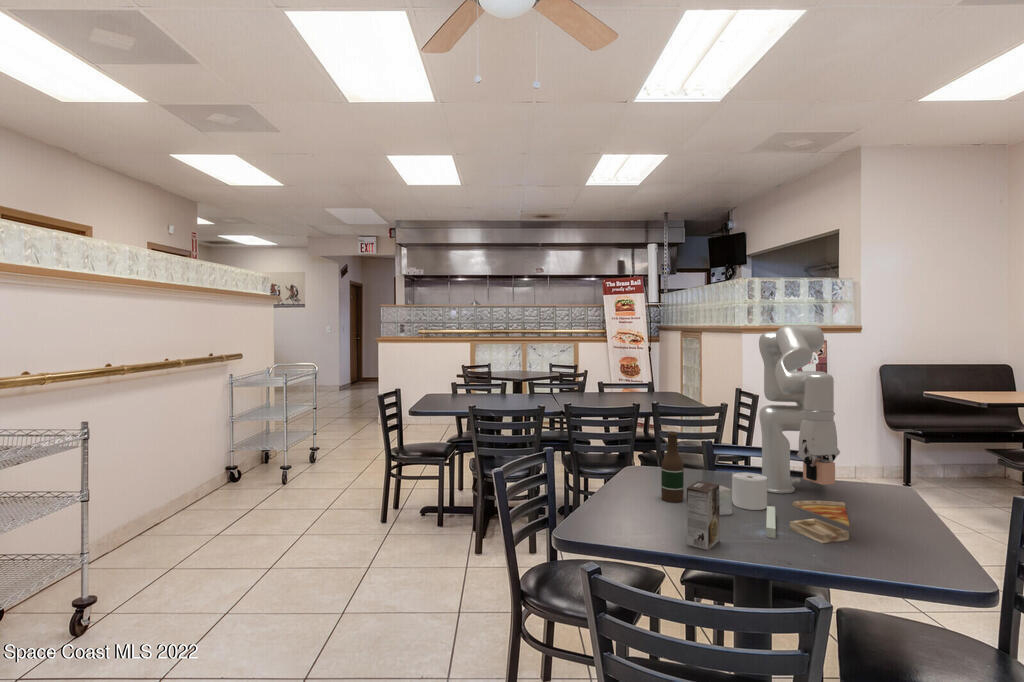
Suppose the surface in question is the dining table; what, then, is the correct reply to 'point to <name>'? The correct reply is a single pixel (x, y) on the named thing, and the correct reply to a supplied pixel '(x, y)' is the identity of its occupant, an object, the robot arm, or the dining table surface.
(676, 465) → the beer bottle
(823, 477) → the block
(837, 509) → the pizza slice
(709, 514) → the coffee box
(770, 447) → the robot arm
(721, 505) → the post
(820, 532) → the keyed cradle
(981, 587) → the dining table surface
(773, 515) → the pale green bar
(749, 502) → the toilet tissue
